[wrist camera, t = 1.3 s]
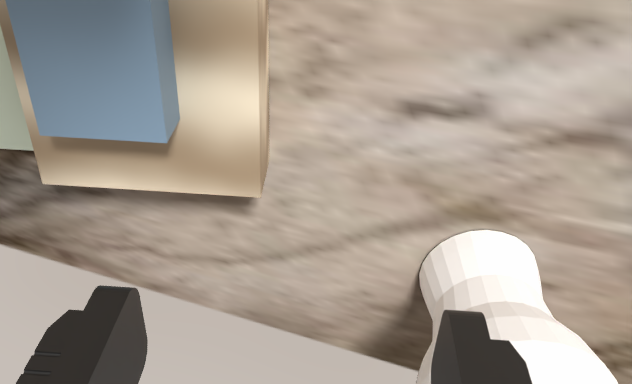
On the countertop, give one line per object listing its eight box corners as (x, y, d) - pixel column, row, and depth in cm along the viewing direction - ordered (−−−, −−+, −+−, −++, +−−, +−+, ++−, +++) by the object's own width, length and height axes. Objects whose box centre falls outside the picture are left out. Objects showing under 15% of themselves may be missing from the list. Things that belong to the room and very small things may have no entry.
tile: (18, -83, 24) (-14, -73, 22) (160, -76, 24) (142, -64, 22) (62, 111, 29) (39, 135, 27) (180, 119, 29) (167, 143, 27)
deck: (-10, -215, 25) (-65, -217, 22) (267, -201, 25) (254, -202, 22) (71, 147, 35) (42, 183, 32) (269, 160, 35) (260, 197, 32)
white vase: (589, 232, 37) (711, 453, 24) (516, 342, 43) (584, 566, 30) (429, 193, 36) (471, 403, 23) (377, 311, 42) (388, 529, 29)
